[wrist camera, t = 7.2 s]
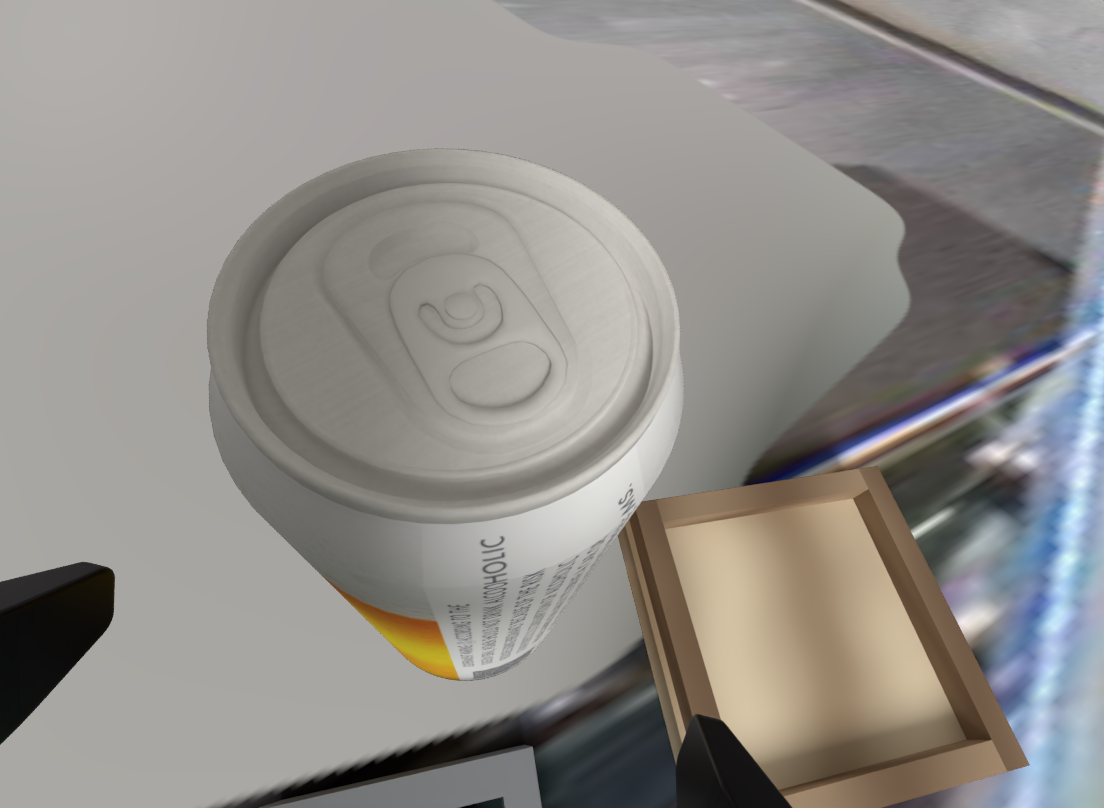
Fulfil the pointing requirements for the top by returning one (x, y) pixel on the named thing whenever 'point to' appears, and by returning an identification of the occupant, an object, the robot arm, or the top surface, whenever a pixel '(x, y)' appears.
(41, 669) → the robot arm
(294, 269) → the beer can
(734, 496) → the shallow wooden tray
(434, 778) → the button console
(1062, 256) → the top surface
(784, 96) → the top surface
